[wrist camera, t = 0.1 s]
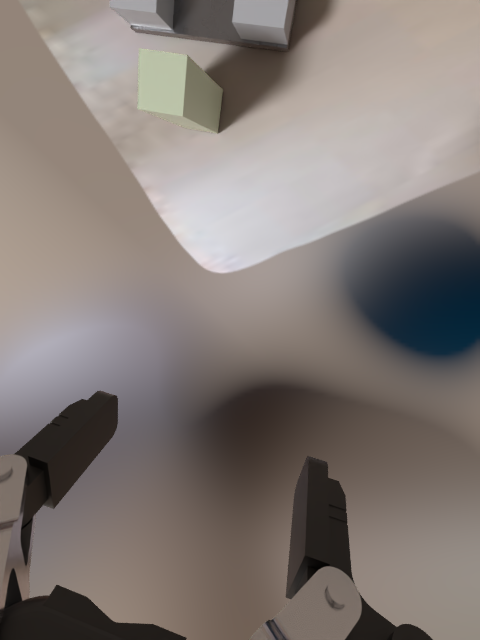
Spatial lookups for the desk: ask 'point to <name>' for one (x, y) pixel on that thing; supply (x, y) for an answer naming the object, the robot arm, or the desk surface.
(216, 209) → the desk surface
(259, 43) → the dark gray flat board
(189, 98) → the block
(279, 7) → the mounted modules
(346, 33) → the desk surface
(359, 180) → the desk surface
